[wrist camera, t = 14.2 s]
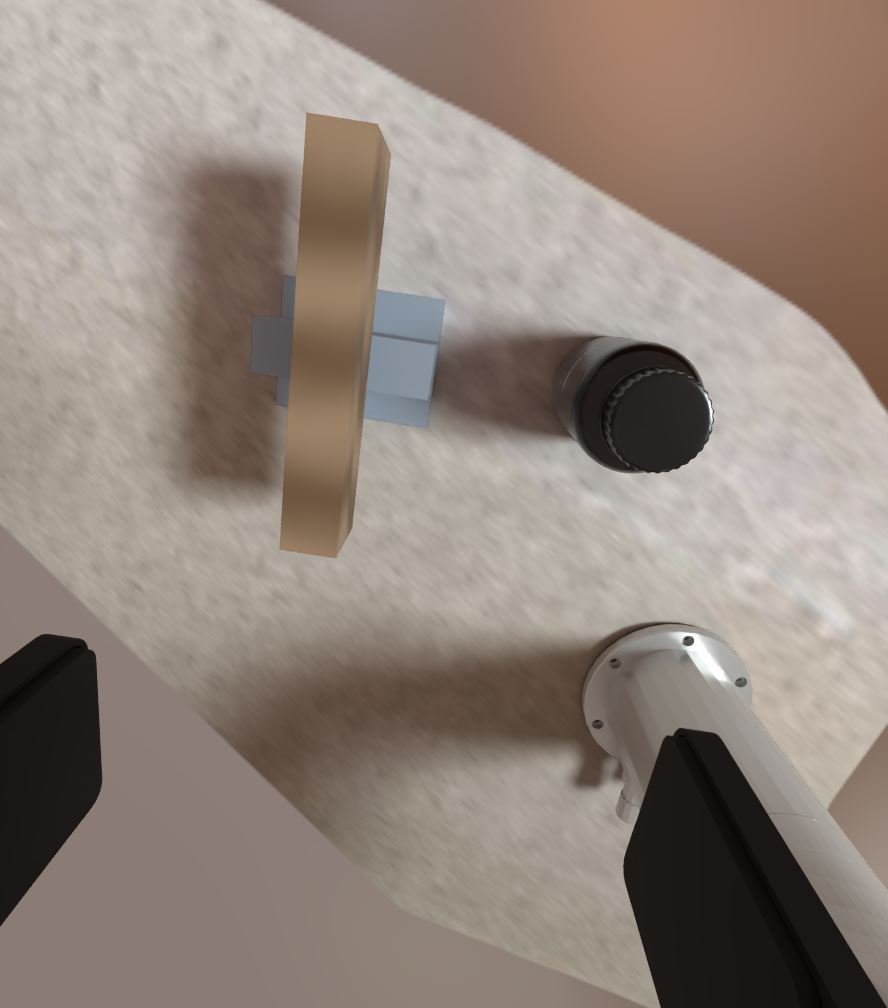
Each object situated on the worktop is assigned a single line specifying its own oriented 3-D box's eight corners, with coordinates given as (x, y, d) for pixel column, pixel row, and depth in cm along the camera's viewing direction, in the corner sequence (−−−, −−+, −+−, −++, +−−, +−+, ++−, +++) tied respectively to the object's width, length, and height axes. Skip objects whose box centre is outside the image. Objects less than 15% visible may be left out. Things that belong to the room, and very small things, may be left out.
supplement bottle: (552, 336, 36) (592, 343, 25) (660, 335, 36) (751, 342, 24) (547, 442, 38) (582, 494, 27) (649, 442, 38) (729, 494, 26)
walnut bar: (351, 528, 34) (336, 558, 30) (302, 521, 34) (279, 549, 30) (390, 154, 28) (377, 124, 24) (330, 145, 28) (306, 112, 24)
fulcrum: (427, 425, 38) (421, 443, 32) (280, 402, 38) (248, 417, 32) (445, 300, 36) (441, 296, 30) (288, 276, 35) (254, 267, 30)
